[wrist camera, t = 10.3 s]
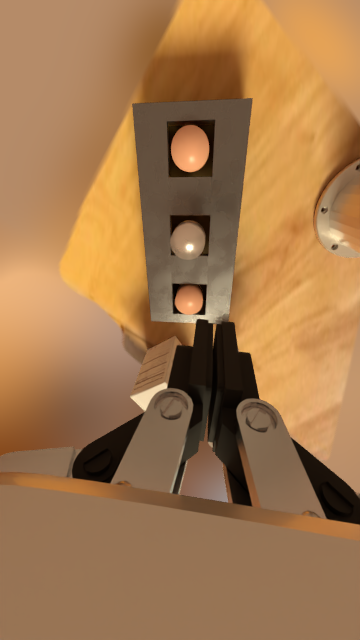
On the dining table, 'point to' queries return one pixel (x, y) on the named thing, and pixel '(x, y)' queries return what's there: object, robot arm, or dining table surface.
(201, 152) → the near knob
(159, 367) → the supplement box
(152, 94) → the dining table surface
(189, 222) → the middle knob
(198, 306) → the far knob
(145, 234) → the knob housing
